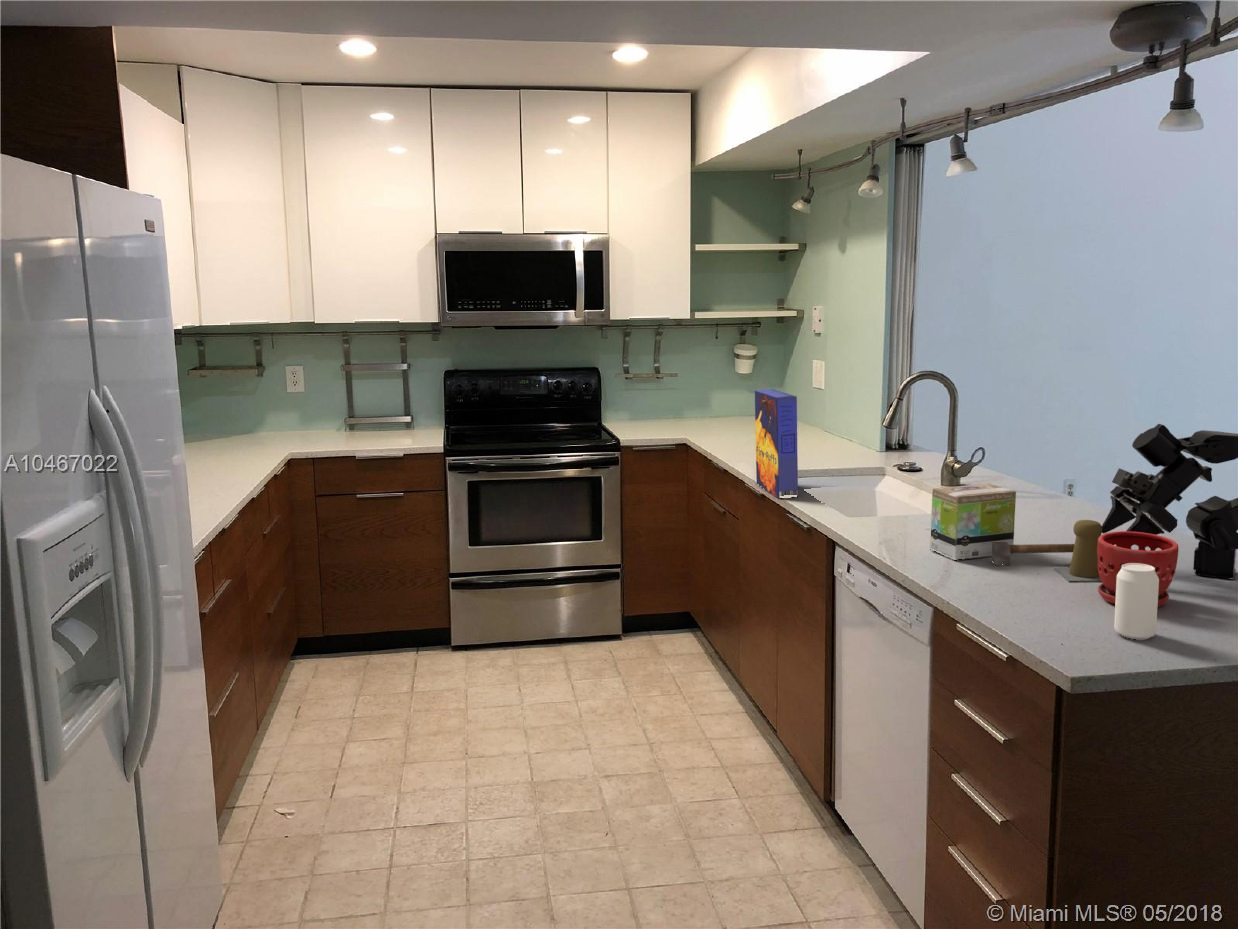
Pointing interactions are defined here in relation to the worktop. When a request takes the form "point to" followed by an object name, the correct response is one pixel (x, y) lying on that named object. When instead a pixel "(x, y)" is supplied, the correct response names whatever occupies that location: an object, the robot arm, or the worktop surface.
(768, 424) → the cereal box
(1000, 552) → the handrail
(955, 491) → the tea box
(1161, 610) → the worktop surface
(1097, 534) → the cork
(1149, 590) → the beverage can
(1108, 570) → the plant pot
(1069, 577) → the pad
